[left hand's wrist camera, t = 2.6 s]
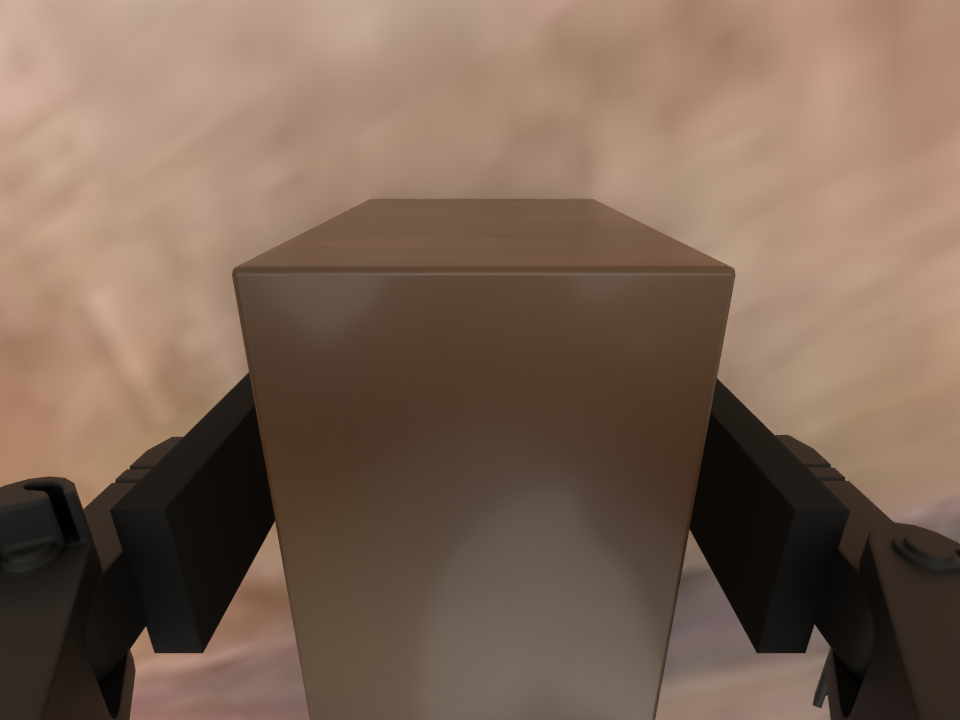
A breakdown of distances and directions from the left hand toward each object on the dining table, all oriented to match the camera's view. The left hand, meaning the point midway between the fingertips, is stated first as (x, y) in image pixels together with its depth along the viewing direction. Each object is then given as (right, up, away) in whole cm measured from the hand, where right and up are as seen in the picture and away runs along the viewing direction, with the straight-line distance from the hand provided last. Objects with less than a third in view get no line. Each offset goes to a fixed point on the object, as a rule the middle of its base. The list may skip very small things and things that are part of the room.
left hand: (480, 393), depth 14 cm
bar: (0, -28, +13) cm, 31 cm away
